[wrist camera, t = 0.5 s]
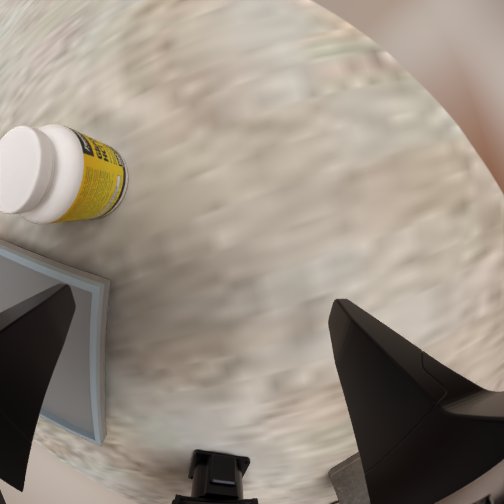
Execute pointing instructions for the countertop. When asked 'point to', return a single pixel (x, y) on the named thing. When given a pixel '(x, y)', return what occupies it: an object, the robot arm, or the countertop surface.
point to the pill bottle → (59, 175)
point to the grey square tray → (77, 341)
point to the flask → (350, 481)
